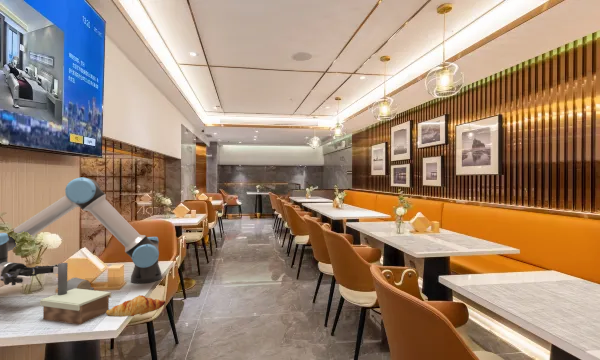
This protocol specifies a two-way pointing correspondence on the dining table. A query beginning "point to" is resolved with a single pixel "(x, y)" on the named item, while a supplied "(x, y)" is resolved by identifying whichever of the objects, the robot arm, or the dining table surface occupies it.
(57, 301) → the lid
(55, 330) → the dining table surface
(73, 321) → the brown wooden box
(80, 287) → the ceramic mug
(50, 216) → the robot arm
